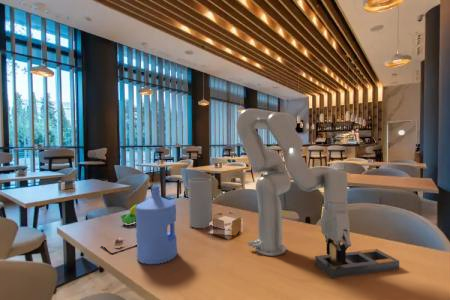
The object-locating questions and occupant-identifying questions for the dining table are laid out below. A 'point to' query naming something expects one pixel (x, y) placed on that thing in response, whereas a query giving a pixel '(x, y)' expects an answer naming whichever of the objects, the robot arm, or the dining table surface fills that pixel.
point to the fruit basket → (130, 216)
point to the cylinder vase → (200, 202)
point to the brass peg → (334, 254)
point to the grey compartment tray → (363, 265)
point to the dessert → (119, 242)
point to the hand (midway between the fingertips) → (335, 257)
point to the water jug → (156, 229)
